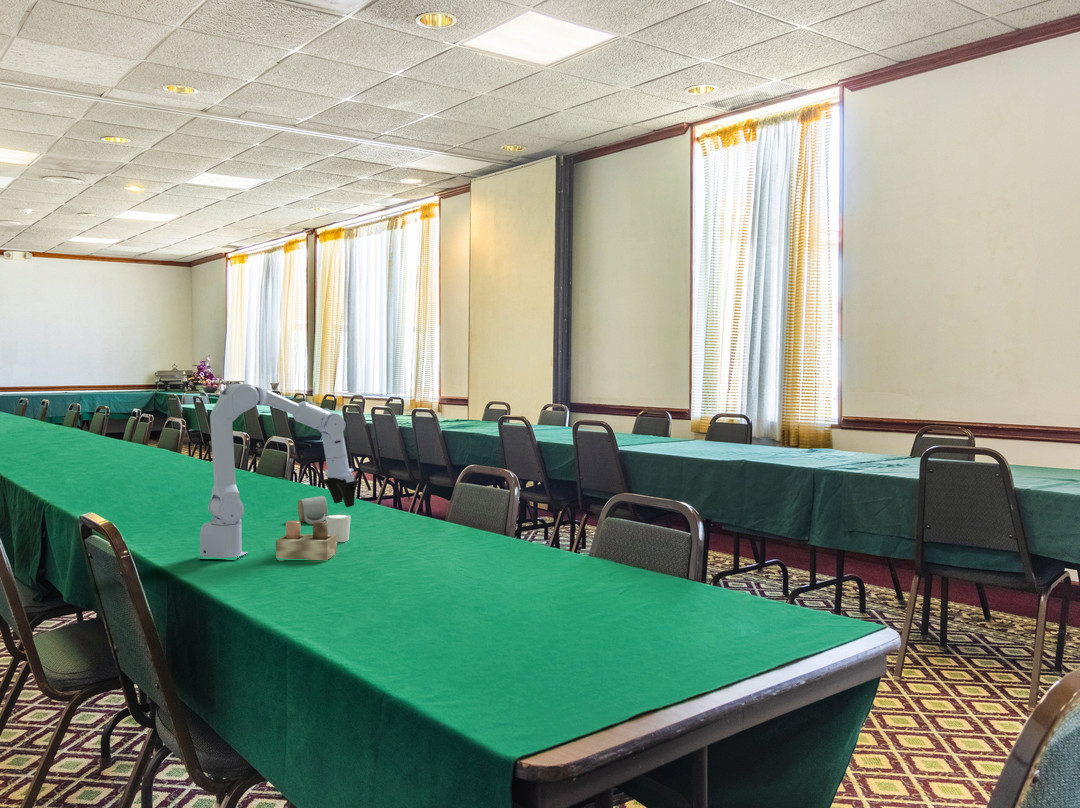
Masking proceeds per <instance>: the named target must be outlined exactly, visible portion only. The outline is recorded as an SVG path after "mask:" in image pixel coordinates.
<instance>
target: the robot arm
mask: <svg viewBox="0 0 1080 808" xmlns="http://www.w3.org/2000/svg"><path fill="white" fill-rule="evenodd" d="M265 405H266V406H269V407H272V408H274V409H277V410H280V411H283V412H285V413H289V414H291V415H292V417H293V418H294V421H295V422H298V423H300V424H301V425H302V424H303V425H305V426H307V427H310V428H311V429H314V430H318V432H319V433H321V438H322V444H323V450H324V457H325V462H326V463H325V464H326V469H325V470H324V472H325V477H326V478H325V479H322V482H323V483H324V484H325V486H326V487H327V489H328V491H329V494H330V496H331V498H332V501H333V503H334V504H339V503H343V502H344V505H345V508H350V507H354V506H355V497H356V496H355V495H356V490H357V487H358V484H359V479H357V478H356V479H355V476H354V475H355V474H354V473H353V472H354V471H355V470H354V468H350V465H349V459H348V453H347V448H346V440H345V437H344V436H345V435H344V431H345V429H346V421H345V420H344V418H343V417H342V415H340V414H338V413H333V412H330V409H329V408H328V407H327V408H326V407H324V408H322V407H319V406H317V405H315V404H314V402H313V401H311V400H307V401H305V400H304V401H303V400H302V401H300V402H295V401H293V400H291V399H289V398H286V397H284V396H283V395H280V394H278V393H276V392H273V391H271V390H269V389H267V388H263V387H259V386H254V385H252V384H248V383H244V384H240V383H231V384H229V385H228V386H227V387H225V388H224V389H222V390H221V391H220V393H219V397H218V400H216V403H215V404H214V407H213V408H212V410H211V412H210V414H209V421H210V422H209V423H210V438H211V453H212V454H211V455H212V467H213V468H212V471H213V487H212V489H211V492H210V493H211V496H210V497H211V498H210V500H209V502H208V511H209V513H210V515H211V516H212V517H211V520H210V521H209V522H207V521H206V522H205V523H203V524H202V526H200V527H201V528H200V532H199V557H200V556H204V557H218V558H230V557H237V556H238V557H239V556H241V555H244V554H246V553H248V551H243V550H242V547H243V546H242V544H243V543H242V517H243V516H244V512H245V507H244V504H243V502H242V500H241V497H240V491H239V489H238V487H237V484H236V483H237V482H236V481H237V480H236V466H235V464H236V463H235V446H234V445H235V444H234V431H233V422H234V421H235V420H237V418H238V417H239V416H240V415H242V414H243V413H244V412H247V411H249V410H251V409H253V408H254V407H256V406H265ZM248 554H249V553H248ZM246 555H247V554H246ZM244 556H245V555H244Z"/></svg>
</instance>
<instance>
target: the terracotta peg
mask: <svg viewBox="0 0 1080 808" xmlns="http://www.w3.org/2000/svg"><path fill="white" fill-rule="evenodd" d="M301 527H302V526H301V521H300V520H287V521H285V535H286V539H300V538H301V531H302V530H301Z"/></svg>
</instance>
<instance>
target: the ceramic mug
mask: <svg viewBox="0 0 1080 808" xmlns="http://www.w3.org/2000/svg"><path fill="white" fill-rule="evenodd" d="M297 515H298V521H300V522H301V521H302V522H301V523H307V524H309V525H312V524H313V522H316V521H324V520H325V517H326V516H328V502H327V500H326V497H325V495H319V496H314V497H306V498H302V499H299V500H298V501H297Z"/></svg>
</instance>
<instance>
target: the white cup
mask: <svg viewBox="0 0 1080 808" xmlns="http://www.w3.org/2000/svg"><path fill="white" fill-rule="evenodd" d="M351 518H352V517H351V515H349V514H331V515H327V516H326V517H325V520H326V521H327V522H328V535H337V542H345V541H348V540H349V539H350V538H349V537H350V529H351V528H350V526H351ZM349 541H350V540H349ZM349 541H348V542H349ZM345 543H346V542H345Z"/></svg>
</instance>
